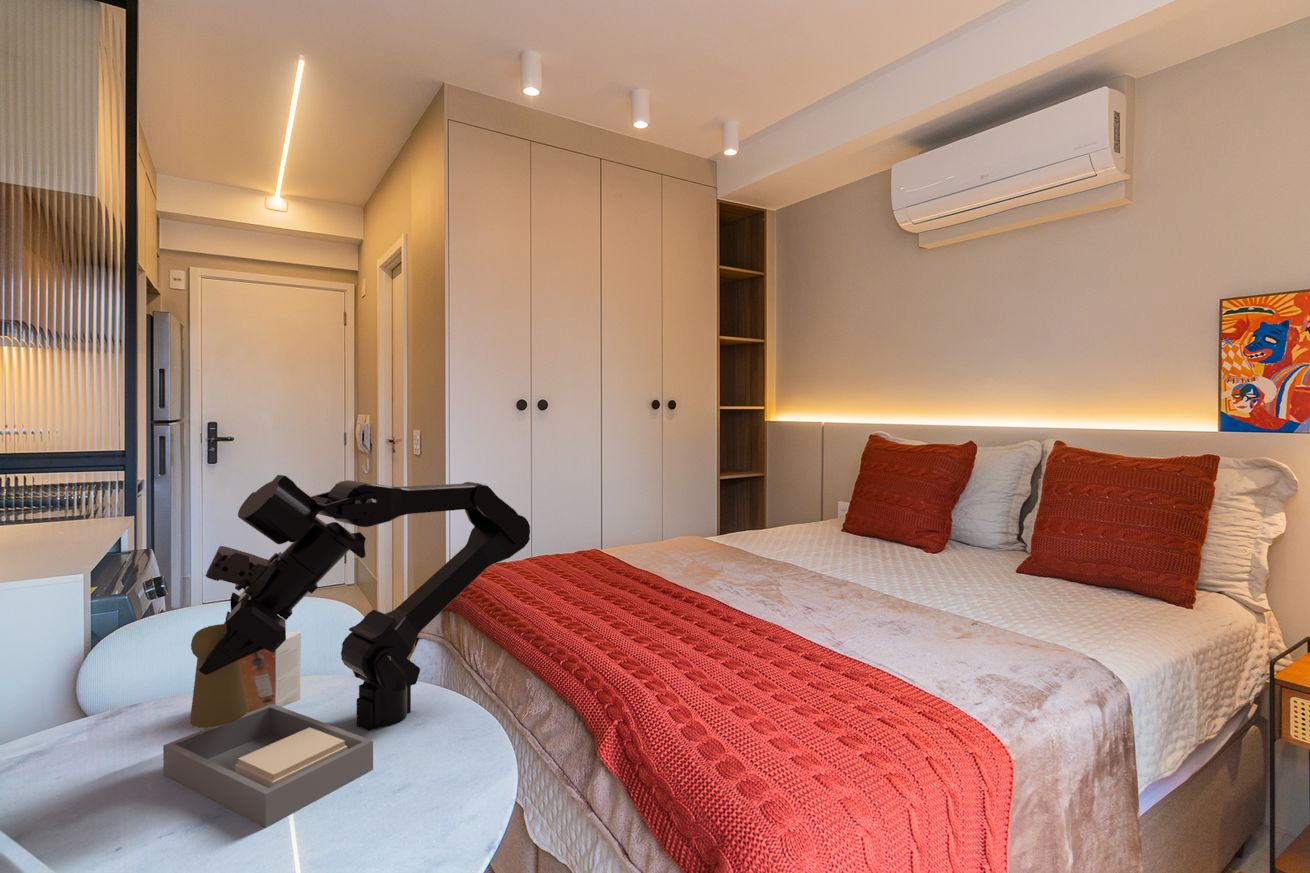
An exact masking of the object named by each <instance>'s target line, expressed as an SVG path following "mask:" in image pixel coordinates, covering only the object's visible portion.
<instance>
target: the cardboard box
mask: <svg viewBox="0 0 1310 873" xmlns="http://www.w3.org/2000/svg"><path fill="white" fill-rule="evenodd" d="M345 750H347V746H346V745H345V741H344V740H342V739H339V738H336V737H334V736H331V735H329V734H326V733H323V732H321V731H318V730H315V729H313V728H310V727H309V728H307V729H305V730H302V731H300V732H298V733H295V734H293V735H291V736H289V737H286V738H284V739H282V740H279V741H277V742H275V743H272V744H270V745H268V746H266V747H263V748H261V749H259V750H256V751H254V752H252V753H249V754H247V755H245V756H243V757H240V758H238V764H236V765H235V773H237V774H239V775H242V776H244V777H246V778H248V779H250V780H252V781H254V782H256V783H259V784H261V785H263V786H265V787H267V788H270V787H272V786H274V785H276V784H278V783H280V782H283V781H285V780H287V779H289V778H291V777H293V776H295V775H297V774H299V773H301V772H303V771H305V770H307V769H309V768H311V767H313V766H315V765H317V764H319V763H321V762H323V761H325V760H327V759H329V758H331V757H333V756H335V755H337V754H339V753H341V752H343V751H345Z"/></svg>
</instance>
